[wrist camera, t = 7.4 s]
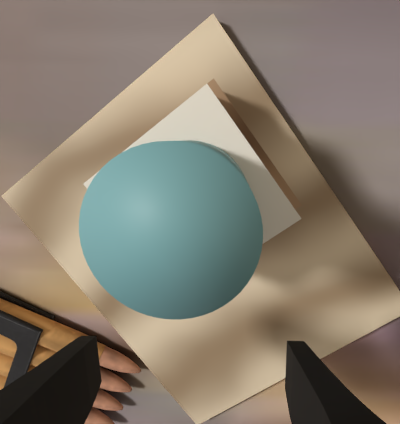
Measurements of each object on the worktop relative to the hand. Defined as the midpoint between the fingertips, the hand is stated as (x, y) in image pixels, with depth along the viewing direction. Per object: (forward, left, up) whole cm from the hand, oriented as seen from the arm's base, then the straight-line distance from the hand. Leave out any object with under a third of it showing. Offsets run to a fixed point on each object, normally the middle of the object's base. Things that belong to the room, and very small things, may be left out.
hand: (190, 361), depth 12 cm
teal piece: (+5, -3, -2) cm, 6 cm away
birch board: (+1, -1, -8) cm, 9 cm away
